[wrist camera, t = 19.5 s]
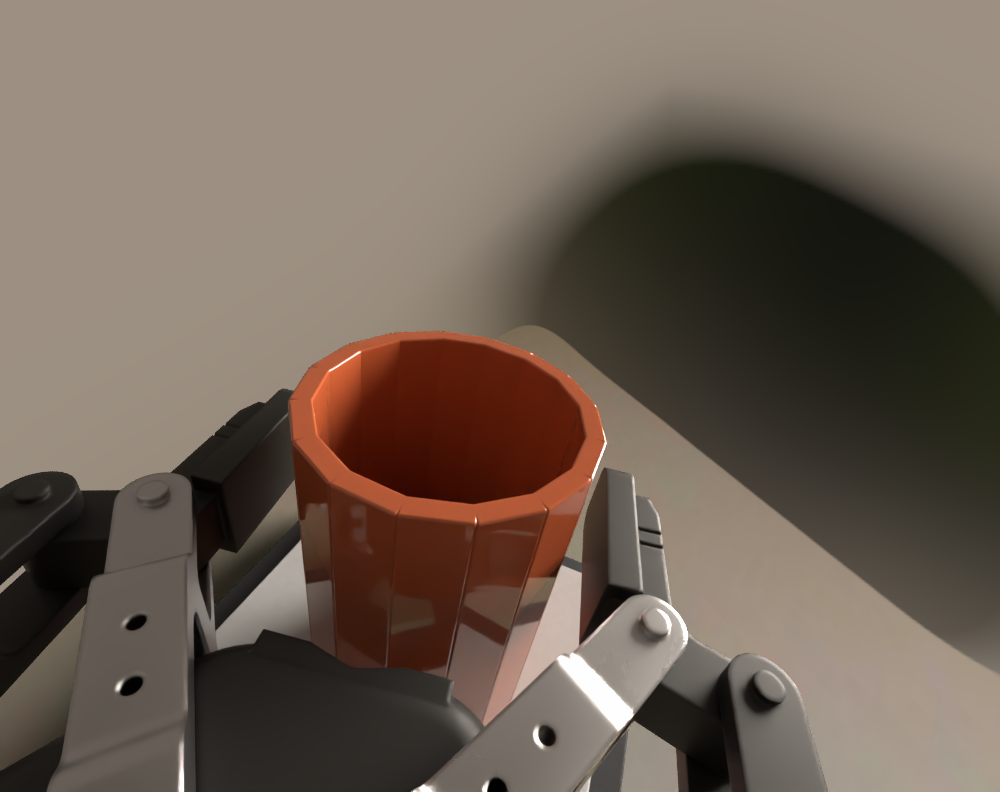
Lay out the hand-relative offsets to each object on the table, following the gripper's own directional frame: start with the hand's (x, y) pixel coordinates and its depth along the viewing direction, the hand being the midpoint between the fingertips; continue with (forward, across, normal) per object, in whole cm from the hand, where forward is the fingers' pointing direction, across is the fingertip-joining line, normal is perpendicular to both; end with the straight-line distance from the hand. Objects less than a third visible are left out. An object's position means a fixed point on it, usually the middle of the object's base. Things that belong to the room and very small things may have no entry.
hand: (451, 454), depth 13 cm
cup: (-2, 0, +7) cm, 7 cm away
